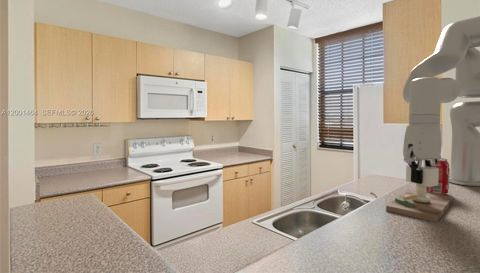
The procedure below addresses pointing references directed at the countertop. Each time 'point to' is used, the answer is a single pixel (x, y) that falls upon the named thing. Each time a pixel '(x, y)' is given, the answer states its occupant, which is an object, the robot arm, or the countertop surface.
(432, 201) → the dial board
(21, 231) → the countertop surface
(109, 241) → the countertop surface
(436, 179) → the knob
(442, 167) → the soda can
